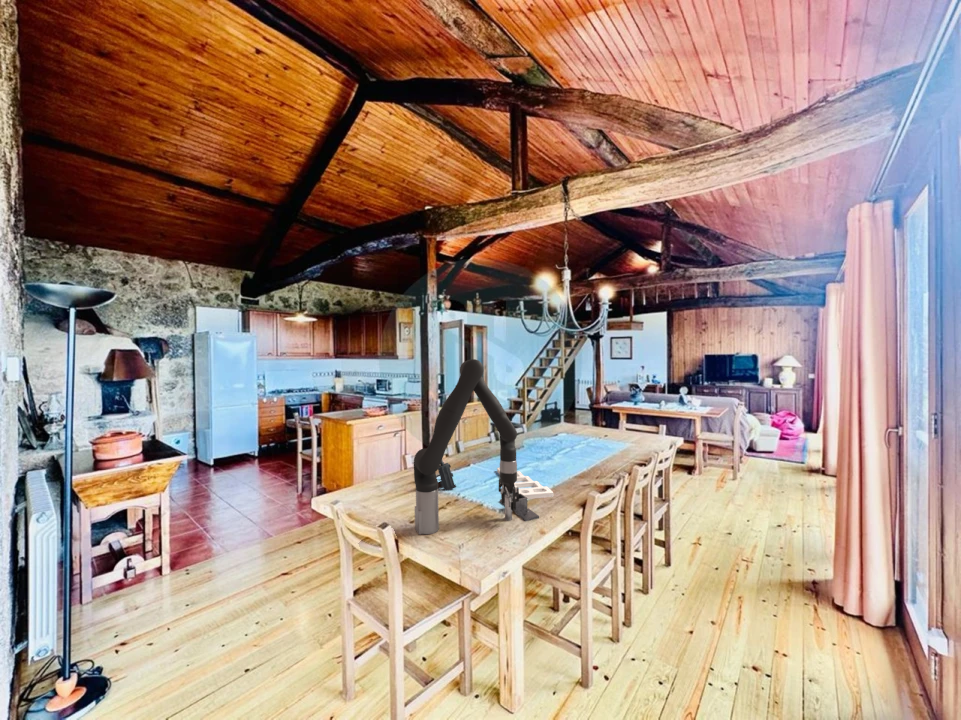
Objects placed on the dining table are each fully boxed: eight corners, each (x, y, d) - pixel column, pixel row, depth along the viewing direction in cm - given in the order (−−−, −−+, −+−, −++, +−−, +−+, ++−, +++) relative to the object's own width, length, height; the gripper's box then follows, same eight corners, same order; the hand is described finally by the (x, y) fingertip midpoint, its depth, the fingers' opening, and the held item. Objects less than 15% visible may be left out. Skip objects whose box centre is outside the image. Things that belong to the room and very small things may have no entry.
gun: (419, 464, 212) (447, 455, 215) (428, 494, 214) (456, 485, 216) (420, 466, 210) (448, 457, 212) (429, 496, 211) (456, 487, 214)
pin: (507, 521, 176) (507, 496, 176) (503, 518, 179) (503, 493, 178) (513, 519, 177) (513, 495, 177) (510, 517, 180) (509, 492, 180)
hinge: (525, 521, 176) (525, 507, 176) (499, 501, 198) (499, 489, 197) (539, 518, 179) (539, 504, 179) (512, 499, 201) (512, 487, 200)
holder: (497, 472, 244) (497, 467, 244) (525, 470, 247) (525, 465, 247) (518, 500, 200) (518, 495, 200) (553, 497, 203) (553, 492, 203)
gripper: (493, 466, 182) (493, 502, 183) (508, 476, 169) (508, 514, 170) (508, 464, 185) (508, 499, 186) (524, 473, 172) (524, 511, 173)
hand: (508, 506), depth 178 cm, fingers open, 8 cm apart
